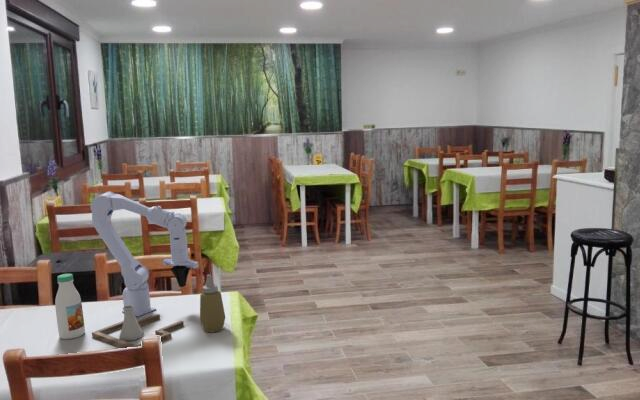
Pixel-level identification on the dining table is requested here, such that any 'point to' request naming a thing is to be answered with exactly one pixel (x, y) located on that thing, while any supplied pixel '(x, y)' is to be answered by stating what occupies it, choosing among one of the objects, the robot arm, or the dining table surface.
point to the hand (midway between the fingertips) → (182, 286)
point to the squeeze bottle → (211, 307)
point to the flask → (130, 325)
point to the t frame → (162, 332)
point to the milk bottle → (68, 309)
